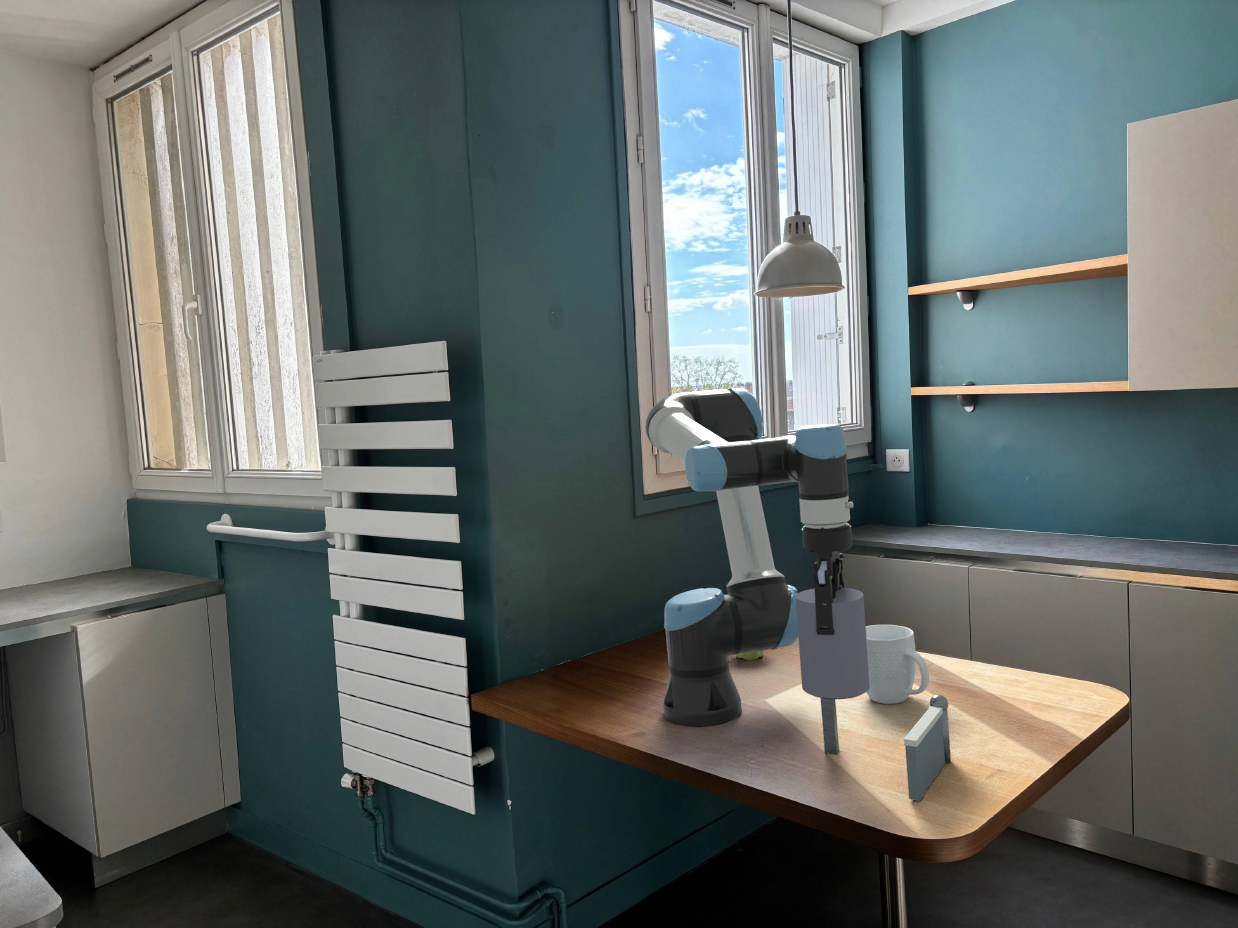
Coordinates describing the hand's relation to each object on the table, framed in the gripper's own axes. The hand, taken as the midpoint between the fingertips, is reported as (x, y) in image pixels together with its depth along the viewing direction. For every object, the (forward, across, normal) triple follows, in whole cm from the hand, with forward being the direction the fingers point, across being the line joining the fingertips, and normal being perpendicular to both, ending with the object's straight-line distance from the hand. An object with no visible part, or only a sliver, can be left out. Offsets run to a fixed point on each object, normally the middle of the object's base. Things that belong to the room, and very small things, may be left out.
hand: (835, 667), depth 137 cm
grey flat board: (+16, -3, -13) cm, 21 cm away
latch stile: (+17, +6, +3) cm, 18 cm away
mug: (+17, +32, -4) cm, 36 cm away
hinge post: (+16, +6, -15) cm, 23 cm away
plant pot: (+18, +56, +30) cm, 66 cm away
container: (+3, -2, 0) cm, 4 cm away
